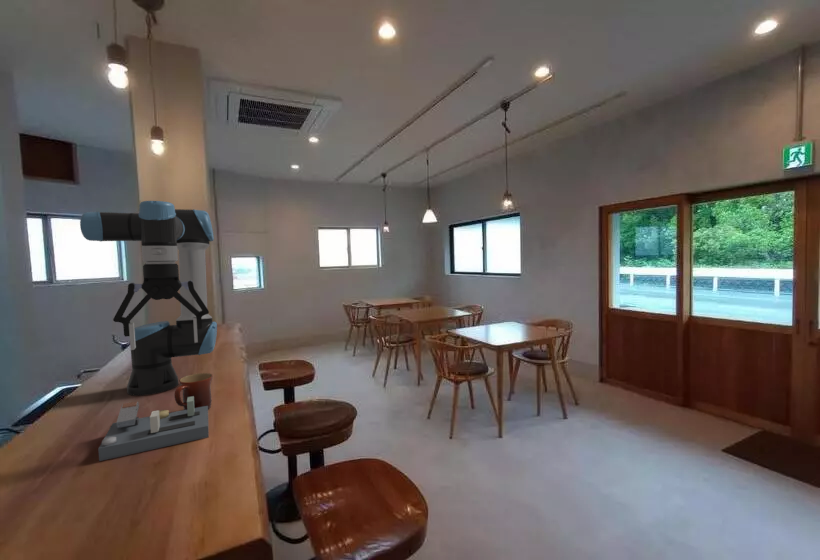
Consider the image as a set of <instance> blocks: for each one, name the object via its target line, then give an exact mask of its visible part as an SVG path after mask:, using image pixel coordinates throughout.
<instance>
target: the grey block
mask: <svg viewBox="0 0 820 560" xmlns="http://www.w3.org/2000/svg"><path fill="white" fill-rule="evenodd" d="M194 411H195V409H194V396H192V397H188V398H187V412H188V416H193V415H194Z"/></svg>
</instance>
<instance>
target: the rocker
mask: <svg viewBox="0 0 820 560" xmlns="http://www.w3.org/2000/svg"><path fill="white" fill-rule="evenodd" d="M139 408H140V403H139V401H132V402H127V403H126V402H125V403H122V404H121V407H120V409H119V413H118V416H117V419H116V422H115V423H116V424H117V428H120V427H126V426H131V425H135V421H136V417H138V412H139Z"/></svg>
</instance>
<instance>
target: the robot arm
mask: <svg viewBox="0 0 820 560" xmlns="http://www.w3.org/2000/svg"><path fill="white" fill-rule="evenodd" d="M138 207H139V209H138V211H134V212H111V211H110V212H108V211H107V212H106V211H105V212H104V211H103V212H102V211H88V212H84V213H83V214H82V215H81V216H80V220H79V225H80V228H79V229H80V232H81V234H82V237H84V239H86V240H87V241H89V242H90V241H91V242H92V241H93V242H130V241H131V242H141V257H142V262H143V263H144V264H143V265H142V275H143V276H142V277H143V281H142V283H134V282H130V283H129V284H128V285H127V292H126V295H125V297H124V299H123V300H122V302H121V304H120V306H119V308H118V309H117V312H116V313H115V315H114V317H113V319H112V320H113V322H115V323H120V324H122V327H123V336H124V337H129V345H130V346H129V349H130V359H131V373H130V375H129V379H128V383H127V384H126V393H127V395H131V396H136V397H137V396H148V395H149V396H150V395H155V394H159V393H163V392H167V391H169V390H173V389H174V388H177V386H178V385H179V384H180V382H179V377H178V374H177V373H176V370H175V368H174V366H173V364H172V363H173V362H172V358H180V357H188V356H189V357H190V356H197V355H198V356H200V355H201V356H202V355H206V354H211V353H212V352H213V351H214V349H215V345H216V342H217V333H218V324H217V323H218V322H216V321H213V316H212V315H210V314H209V313H210V311H209V309H208V294H207V293H208V290H207V289H208V288H207V287H208V285H207V267H206V265H207V264H206V251H207V249H208V248H209V247H210V245H211V244H210V242H213V241H214V240H215V238H214V230H213V226H212V220H211V217H210V214H209V212H207V211H206V210H203V209H185V208H184V209H180V208H179V209H177V208H175V204H174V203H172V202H169V201H164V200H163V201H162V200H142V201H141V202H140V203H139V206H138ZM176 262H178V263H176ZM140 289H142V290H143V291H144V292H145V293H146V295H144V297H143V298H142V299H141V300H140V302H138V303H137V305H136V306H135V307H134V308H133V309H132V310H131V311H130V312H129V313H128V315H127V316H125V317H124V314H125V312H126V310H127V308H128V307H129V305H130V303H131V301H132V299H133V297H134V295H135V293H137V292H139V291H140ZM179 292H180V293H179ZM173 298H174V299H175V300H177V301H178V302H179V303H180V316H178V317H177V318H176V320H175V324H171V323H170V321H168V320H165V321H164V320H163V321H162V320H161V321H157V322H155V321H154V322H151V323H146V324H143V325H139V326H136V327H135V322H134V321H132V319H134V317H135V316H136V315H137V314H138V313H139V312H140V311H141V310H142V308H143V307H144V306H145V305H146V304H147V303H148V302H149V301H150V300H151V299H152V300H155V301H159V300H162V299H163V300H170V299H173Z"/></svg>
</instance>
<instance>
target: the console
mask: <svg viewBox="0 0 820 560" xmlns="http://www.w3.org/2000/svg"><path fill="white" fill-rule="evenodd" d="M194 409H195V411H194V415H193V416H188V412H187V410H184V409H183V410H176V411H171V412H170V410H168V409H163V410H159V417H160V427H159V431H158V432H155V433H151V427H150V416H151V415H150V416H145V417H139V416H137V417H136V421H135V425H131V426H126V427H120V428H117V424H116V422H112V424H111V425H110V427H109V429H108V431H107V433H106V434H105V436H104V438H103V439H102V440H101V443H100V445H99V447H98V449H97V450H98V461H99V462H101V461H106V460H112V459H116V458H120V457H124V456H130V455H134V454H138V453H142V452H147V451H152V450H156V449H161V448H165V447H166V448H167V447H170V446H175V445H179V444H182V443H183V444H185V443H188V442H193V441H197V440H202V439H207V438H209V432H210V431H209V430H210V429H209V410H208V406H203V407H198V408H194Z"/></svg>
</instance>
